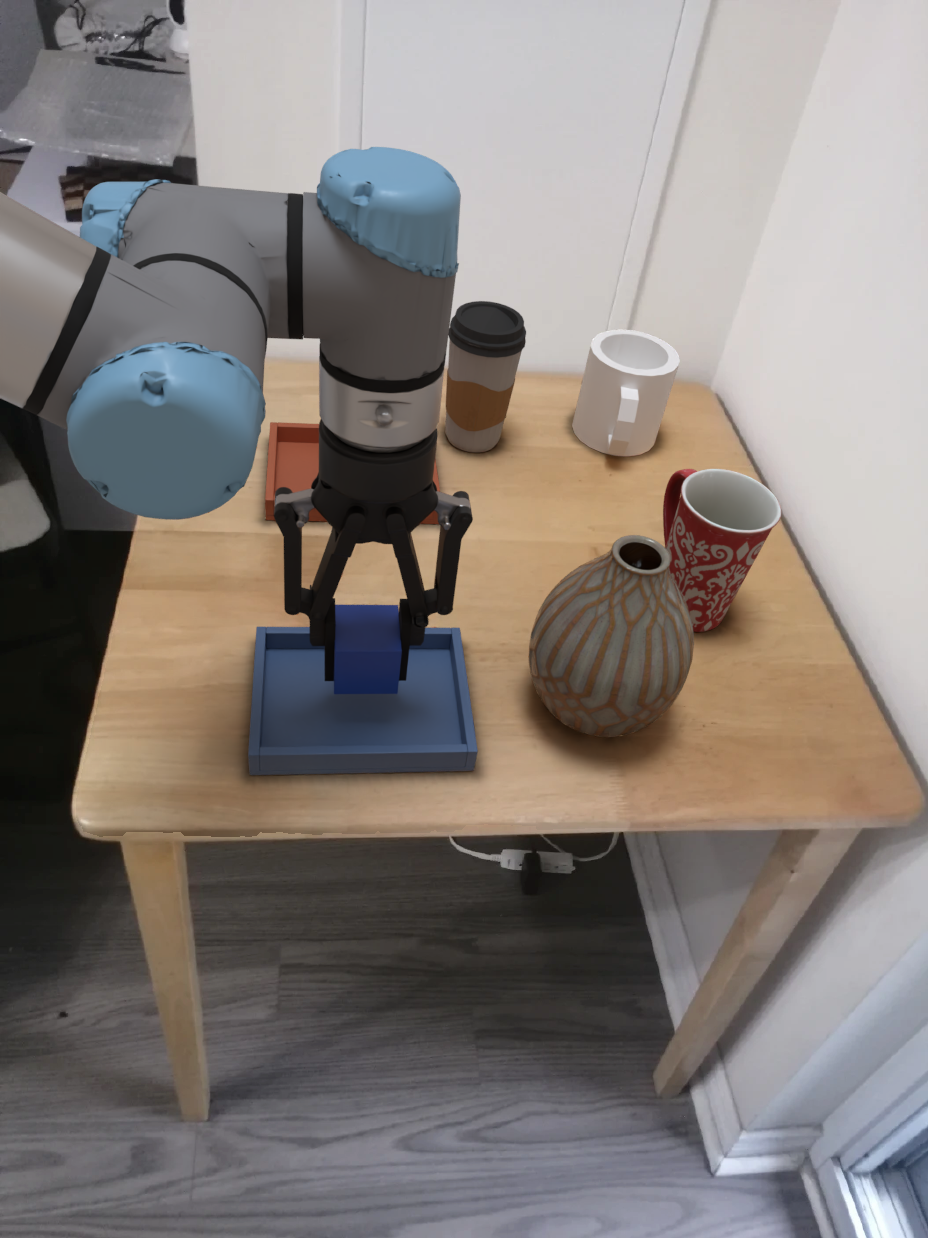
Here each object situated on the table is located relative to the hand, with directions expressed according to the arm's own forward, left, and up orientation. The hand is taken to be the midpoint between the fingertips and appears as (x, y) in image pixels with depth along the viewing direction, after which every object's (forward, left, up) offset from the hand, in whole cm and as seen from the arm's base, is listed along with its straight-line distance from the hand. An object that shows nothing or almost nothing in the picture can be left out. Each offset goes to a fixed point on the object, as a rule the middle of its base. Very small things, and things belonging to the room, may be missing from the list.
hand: (364, 667), depth 75 cm
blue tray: (0, 0, -5) cm, 5 cm away
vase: (+12, +16, -5) cm, 21 cm away
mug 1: (-13, +50, -5) cm, 52 cm away
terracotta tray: (-24, +19, -5) cm, 31 cm away
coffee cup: (-23, +36, -5) cm, 43 cm away
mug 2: (+9, +34, -5) cm, 35 cm away
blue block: (0, 0, 0) cm, 0 cm away
